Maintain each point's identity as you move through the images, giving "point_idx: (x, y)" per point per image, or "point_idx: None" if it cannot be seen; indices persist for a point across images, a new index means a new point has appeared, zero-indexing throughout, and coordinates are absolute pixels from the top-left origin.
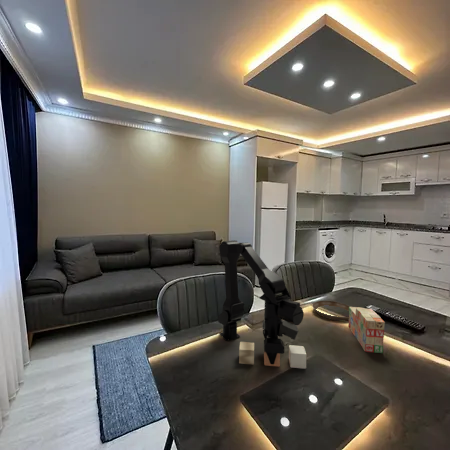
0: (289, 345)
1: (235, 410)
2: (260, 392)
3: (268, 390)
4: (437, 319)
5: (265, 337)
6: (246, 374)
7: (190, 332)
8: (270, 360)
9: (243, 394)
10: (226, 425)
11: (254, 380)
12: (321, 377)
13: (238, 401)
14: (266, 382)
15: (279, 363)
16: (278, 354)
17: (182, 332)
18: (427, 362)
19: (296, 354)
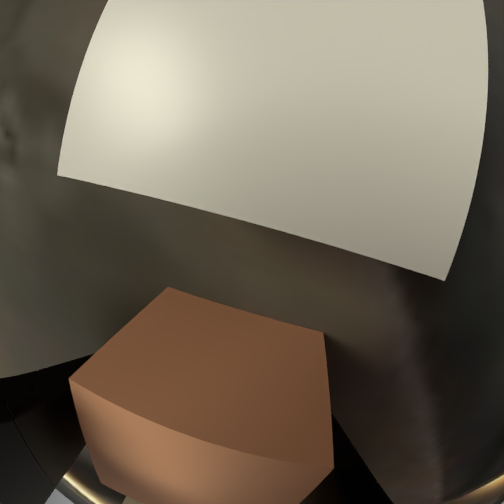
0: (70, 166)
1: (477, 497)
2: (475, 459)
3: (488, 434)
4: None
5: (44, 493)
6: None
7: (62, 490)
8: None
9: (444, 497)
10: (493, 498)
11: (399, 481)
12: (497, 25)
13: (458, 500)
14: (444, 443)
15: (324, 353)
16: (320, 448)
17: (71, 500)
18: None
19: (471, 135)
